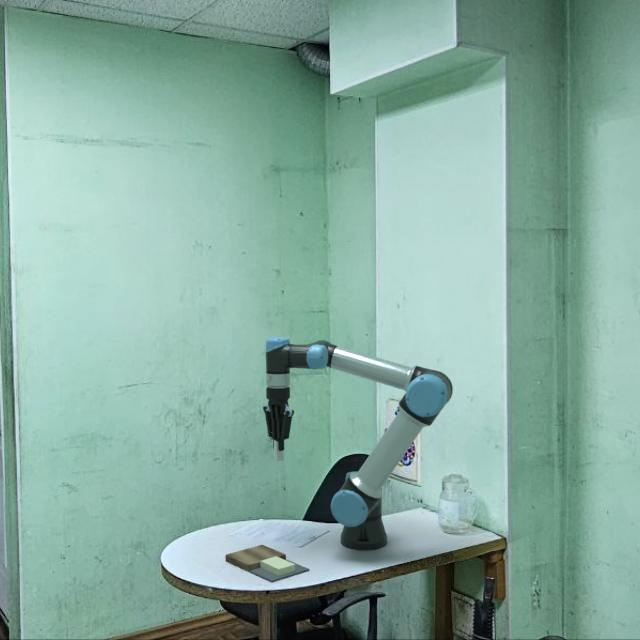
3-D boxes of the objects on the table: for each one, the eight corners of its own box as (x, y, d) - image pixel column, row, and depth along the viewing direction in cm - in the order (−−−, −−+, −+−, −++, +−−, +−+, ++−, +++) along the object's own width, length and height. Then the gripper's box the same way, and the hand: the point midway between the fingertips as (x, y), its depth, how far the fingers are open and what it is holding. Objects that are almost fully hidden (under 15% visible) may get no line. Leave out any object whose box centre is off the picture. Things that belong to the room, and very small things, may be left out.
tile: (260, 567, 248) (260, 560, 248) (276, 562, 252) (276, 556, 252) (278, 576, 241) (278, 569, 241) (295, 571, 245) (295, 564, 245)
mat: (287, 561, 254) (287, 559, 254) (309, 570, 247) (309, 568, 247) (249, 572, 245) (249, 570, 245) (271, 582, 237) (271, 580, 237)
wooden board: (262, 550, 264) (262, 544, 264) (286, 560, 255) (286, 554, 255) (225, 561, 255) (225, 554, 255) (248, 571, 246) (248, 565, 246)
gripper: (256, 385, 266) (256, 458, 267) (281, 389, 256) (282, 465, 257) (274, 383, 271) (275, 455, 272) (300, 387, 261) (301, 461, 262)
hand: (278, 460), depth 265 cm, fingers closed
